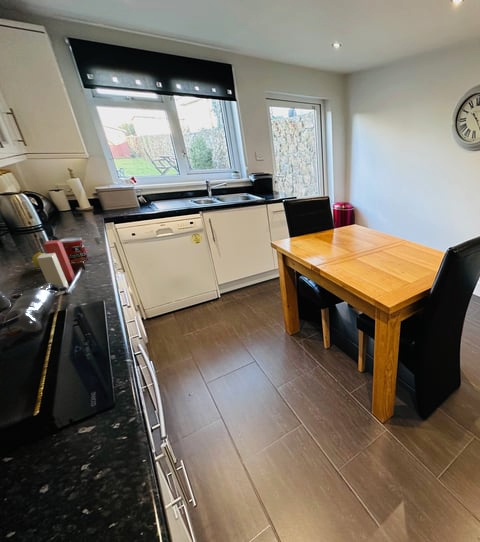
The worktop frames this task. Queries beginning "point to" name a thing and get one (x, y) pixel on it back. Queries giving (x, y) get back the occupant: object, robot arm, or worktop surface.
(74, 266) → the score rail
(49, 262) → the block
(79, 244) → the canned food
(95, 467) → the worktop surface
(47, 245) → the marker red
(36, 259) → the lemon
